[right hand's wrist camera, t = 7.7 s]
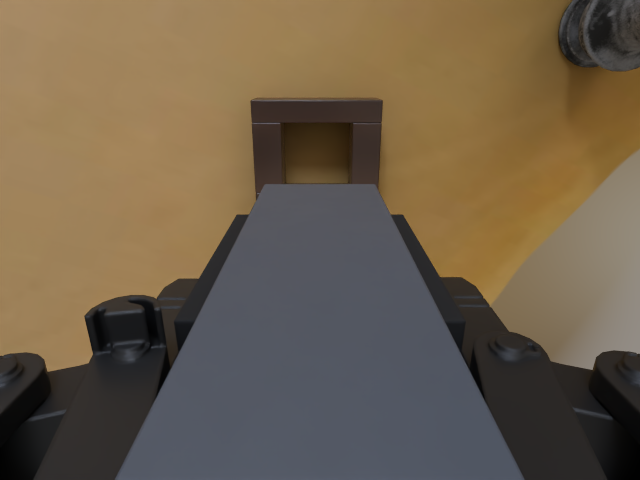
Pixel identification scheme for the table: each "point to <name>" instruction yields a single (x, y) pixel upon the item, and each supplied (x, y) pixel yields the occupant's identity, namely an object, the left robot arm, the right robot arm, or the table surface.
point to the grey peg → (319, 360)
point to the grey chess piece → (602, 34)
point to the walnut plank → (316, 110)
